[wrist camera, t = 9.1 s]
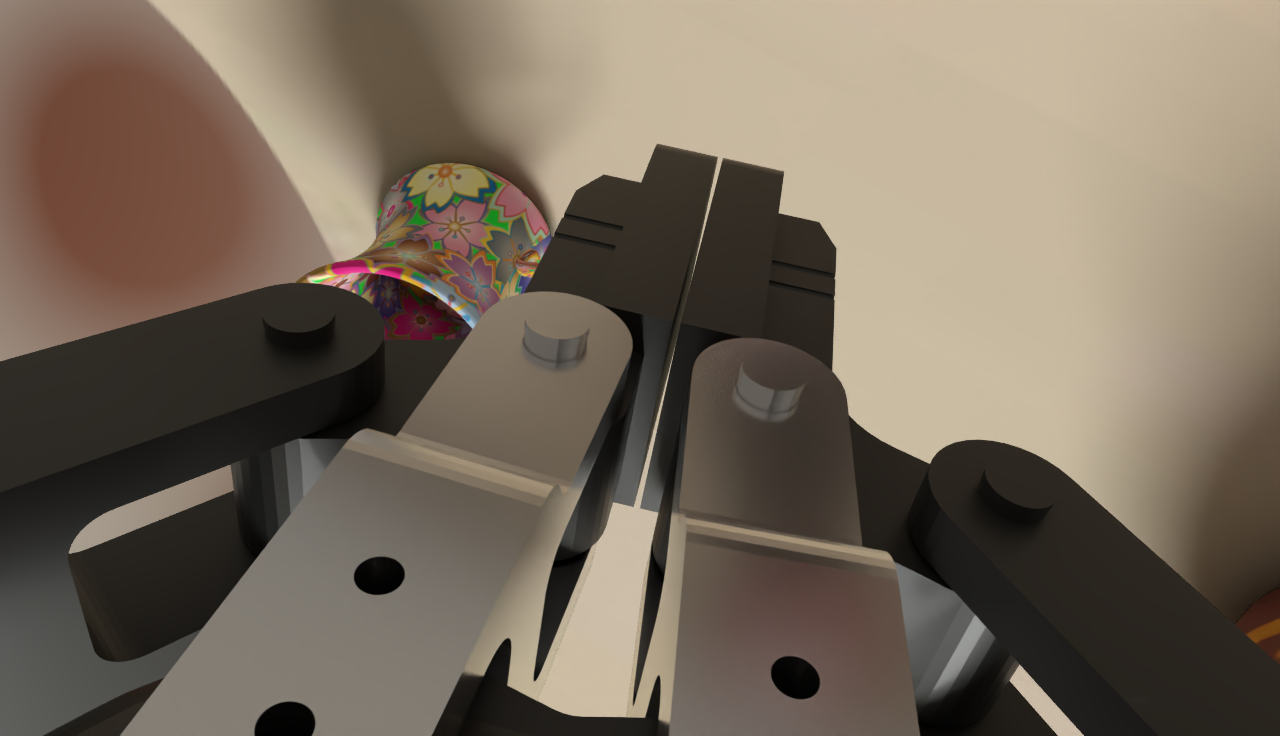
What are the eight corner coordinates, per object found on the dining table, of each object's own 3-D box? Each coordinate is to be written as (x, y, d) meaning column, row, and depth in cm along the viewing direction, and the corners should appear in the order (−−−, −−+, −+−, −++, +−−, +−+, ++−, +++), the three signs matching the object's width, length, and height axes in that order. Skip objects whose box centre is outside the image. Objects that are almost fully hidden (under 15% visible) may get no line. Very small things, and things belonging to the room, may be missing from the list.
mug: (423, 335, 50) (336, 474, 42) (343, 168, 46) (226, 287, 37) (648, 298, 47) (602, 442, 38) (587, 112, 42) (519, 230, 33)
